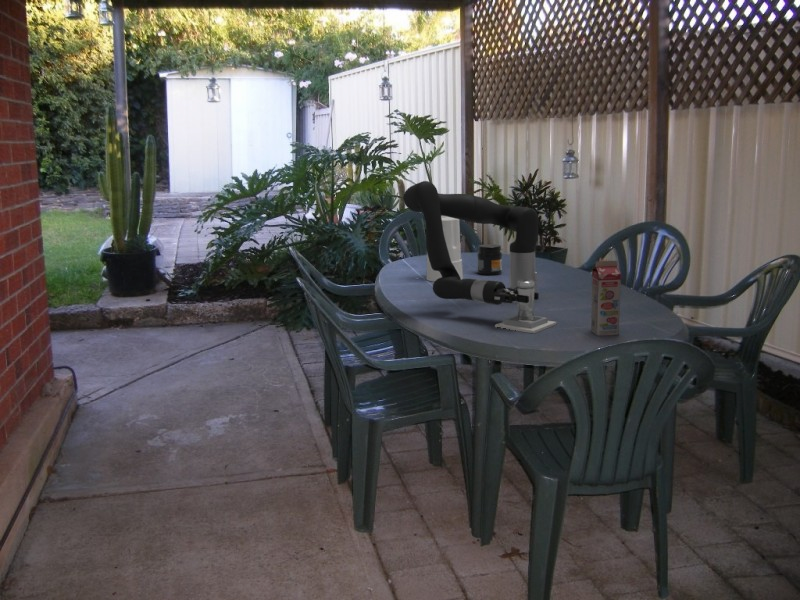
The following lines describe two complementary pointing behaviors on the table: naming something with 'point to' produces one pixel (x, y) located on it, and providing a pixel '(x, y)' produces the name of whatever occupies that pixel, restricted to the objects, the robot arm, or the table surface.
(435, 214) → the robot arm
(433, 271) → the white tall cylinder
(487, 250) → the supplement container
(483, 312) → the table surface
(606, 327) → the juice carton
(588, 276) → the table surface
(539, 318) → the duct flange
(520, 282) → the grey canister
